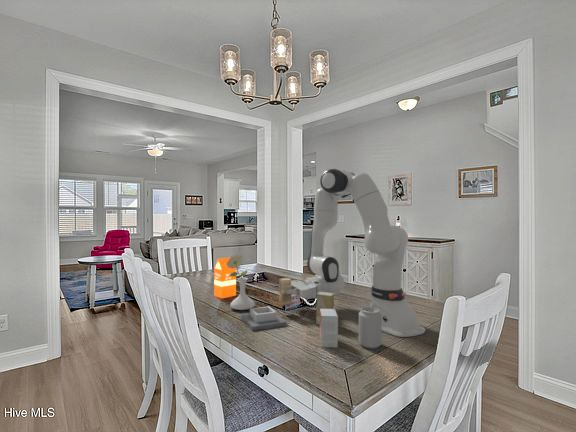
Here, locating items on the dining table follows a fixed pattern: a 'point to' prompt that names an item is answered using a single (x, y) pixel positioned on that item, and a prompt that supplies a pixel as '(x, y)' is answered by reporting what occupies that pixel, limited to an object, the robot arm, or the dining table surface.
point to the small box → (328, 328)
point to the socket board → (263, 318)
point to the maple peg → (283, 285)
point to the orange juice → (224, 279)
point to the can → (370, 327)
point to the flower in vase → (242, 300)
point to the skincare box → (324, 303)
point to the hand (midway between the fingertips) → (283, 290)
